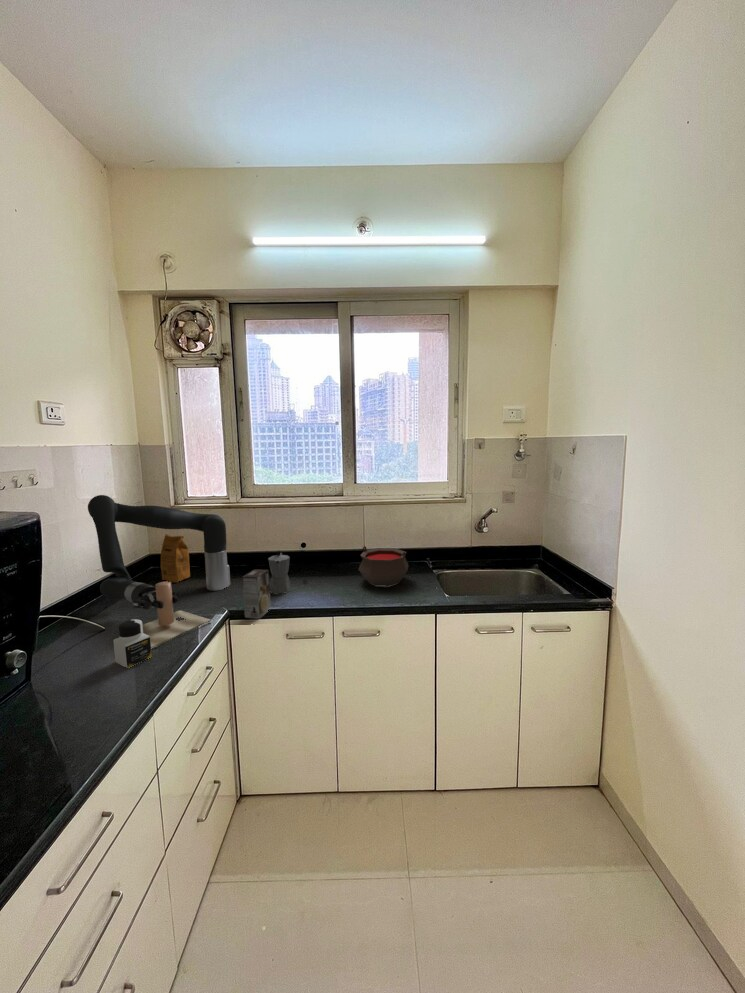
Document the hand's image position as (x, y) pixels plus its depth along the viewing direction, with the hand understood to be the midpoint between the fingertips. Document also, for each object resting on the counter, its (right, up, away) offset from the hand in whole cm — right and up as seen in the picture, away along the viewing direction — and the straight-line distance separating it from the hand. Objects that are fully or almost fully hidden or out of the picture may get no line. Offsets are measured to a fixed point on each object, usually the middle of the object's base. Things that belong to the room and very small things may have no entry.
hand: (169, 602), depth 135 cm
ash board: (-2, -10, +3) cm, 11 cm away
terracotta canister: (-2, -8, +2) cm, 8 cm away
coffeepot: (+29, -5, +40) cm, 50 cm away
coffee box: (+26, -8, +15) cm, 31 cm away
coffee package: (-26, -4, +57) cm, 62 cm away
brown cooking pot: (+75, -4, +48) cm, 89 cm away
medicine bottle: (-2, -13, -17) cm, 21 cm away
